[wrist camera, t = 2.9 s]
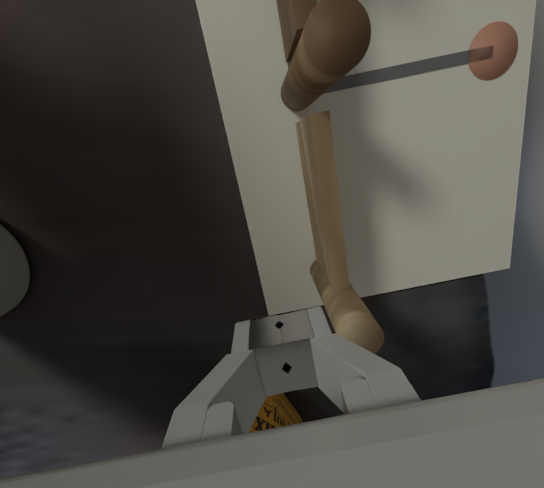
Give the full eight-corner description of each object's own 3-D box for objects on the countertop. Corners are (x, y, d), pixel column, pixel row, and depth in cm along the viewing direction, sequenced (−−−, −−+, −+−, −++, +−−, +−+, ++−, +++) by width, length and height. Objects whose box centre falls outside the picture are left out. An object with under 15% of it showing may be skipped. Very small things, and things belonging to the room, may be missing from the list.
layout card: (268, 312, 32) (268, 316, 32) (152, -190, 19) (148, -201, 18) (505, 266, 32) (510, 268, 31) (556, -281, 19) (567, -297, 18)
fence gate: (312, 284, 31) (343, 361, 19) (286, 125, 25) (308, 106, 14) (338, 279, 31) (385, 353, 19) (318, 119, 25) (366, 94, 14)
